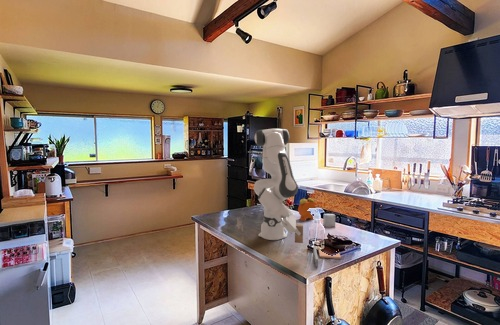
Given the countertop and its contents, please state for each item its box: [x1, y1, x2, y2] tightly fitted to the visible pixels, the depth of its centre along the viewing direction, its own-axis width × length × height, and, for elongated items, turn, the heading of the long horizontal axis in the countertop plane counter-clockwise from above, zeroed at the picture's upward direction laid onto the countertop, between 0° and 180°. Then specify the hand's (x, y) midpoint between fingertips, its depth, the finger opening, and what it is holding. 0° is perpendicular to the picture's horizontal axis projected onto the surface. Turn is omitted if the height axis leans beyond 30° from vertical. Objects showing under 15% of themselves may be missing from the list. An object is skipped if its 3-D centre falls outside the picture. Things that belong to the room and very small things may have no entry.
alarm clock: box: [297, 197, 316, 222], centre depth 226 cm, size 13×6×20 cm, turn 115°
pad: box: [318, 250, 342, 260], centre depth 158 cm, size 12×11×1 cm
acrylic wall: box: [313, 245, 319, 268], centre depth 150 cm, size 18×1×4 cm, turn 170°
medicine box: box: [322, 213, 336, 228], centre depth 208 cm, size 8×4×9 cm, turn 92°
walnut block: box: [294, 223, 304, 244], centre depth 149 cm, size 4×4×9 cm
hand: (300, 232), depth 148 cm, fingers closed on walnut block, 4 cm apart
